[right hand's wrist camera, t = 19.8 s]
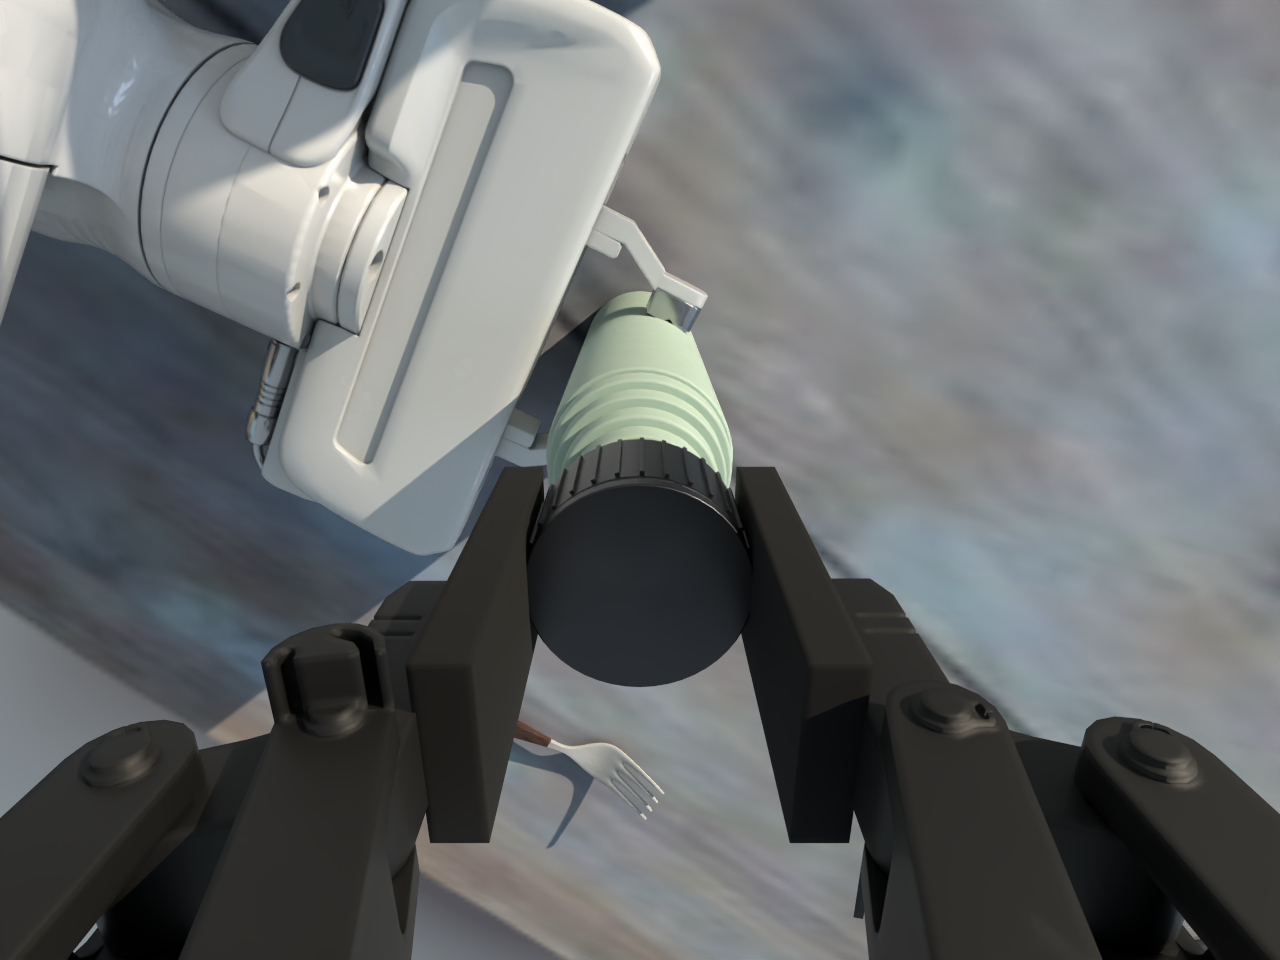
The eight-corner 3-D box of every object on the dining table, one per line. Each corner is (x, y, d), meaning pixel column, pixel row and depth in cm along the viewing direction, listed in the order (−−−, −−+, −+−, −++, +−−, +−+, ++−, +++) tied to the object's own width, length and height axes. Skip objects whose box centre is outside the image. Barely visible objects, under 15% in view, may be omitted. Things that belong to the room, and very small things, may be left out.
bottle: (678, 279, 32) (746, 416, 12) (701, 381, 34) (795, 656, 14) (575, 305, 33) (467, 482, 12) (602, 405, 35) (548, 708, 14)
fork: (410, 657, 40) (399, 680, 38) (665, 765, 42) (666, 791, 40) (393, 692, 40) (381, 715, 39) (644, 795, 43) (644, 822, 41)
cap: (721, 627, 15) (735, 700, 13) (531, 606, 15) (512, 677, 13) (757, 449, 14) (780, 497, 12) (547, 422, 14) (529, 466, 12)
